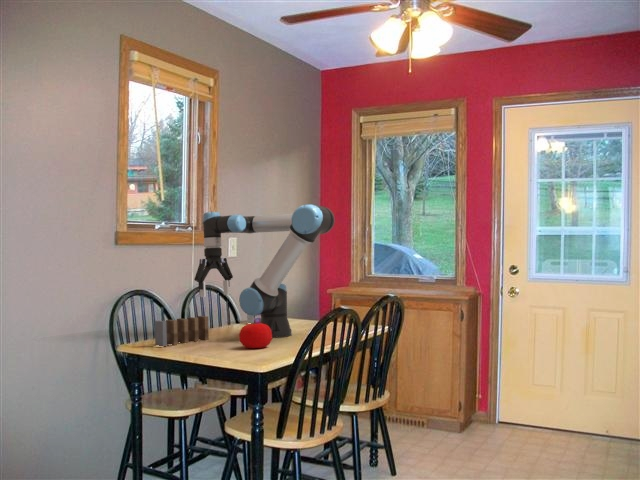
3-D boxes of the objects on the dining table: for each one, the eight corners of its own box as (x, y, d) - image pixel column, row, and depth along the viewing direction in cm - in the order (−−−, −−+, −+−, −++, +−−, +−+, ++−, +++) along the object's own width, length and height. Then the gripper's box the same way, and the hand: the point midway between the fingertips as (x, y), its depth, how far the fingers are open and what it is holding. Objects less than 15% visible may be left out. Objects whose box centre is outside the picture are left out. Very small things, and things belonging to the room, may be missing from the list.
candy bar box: (260, 322, 332) (259, 291, 333) (267, 322, 330) (266, 291, 330) (246, 324, 323) (246, 292, 323) (254, 325, 320) (253, 293, 320)
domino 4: (198, 341, 265) (198, 317, 266) (195, 342, 264) (194, 318, 264) (190, 340, 269) (190, 317, 269) (187, 341, 267) (187, 317, 267)
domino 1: (166, 346, 253) (166, 321, 253) (163, 346, 251) (162, 321, 251) (159, 345, 256) (158, 320, 256) (155, 345, 254) (154, 320, 254)
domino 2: (177, 344, 257) (177, 320, 257) (174, 345, 255) (173, 320, 256) (169, 344, 260) (169, 319, 260) (166, 344, 259) (165, 320, 259)
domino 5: (208, 339, 270) (208, 316, 270) (205, 340, 268) (204, 316, 268) (200, 339, 273) (200, 315, 273) (197, 339, 271) (197, 316, 272)
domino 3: (188, 343, 261) (187, 319, 261) (184, 343, 260) (184, 319, 260) (180, 342, 264) (180, 318, 264) (177, 342, 263) (176, 318, 263)
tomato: (274, 348, 240) (274, 321, 240) (241, 351, 236) (241, 323, 236) (268, 344, 250) (268, 318, 250) (236, 347, 247) (236, 320, 247)
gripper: (196, 247, 264) (198, 298, 264) (239, 246, 284) (241, 293, 283) (184, 248, 269) (186, 298, 268) (227, 247, 288) (229, 293, 288)
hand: (214, 296), depth 276 cm, fingers open, 13 cm apart
